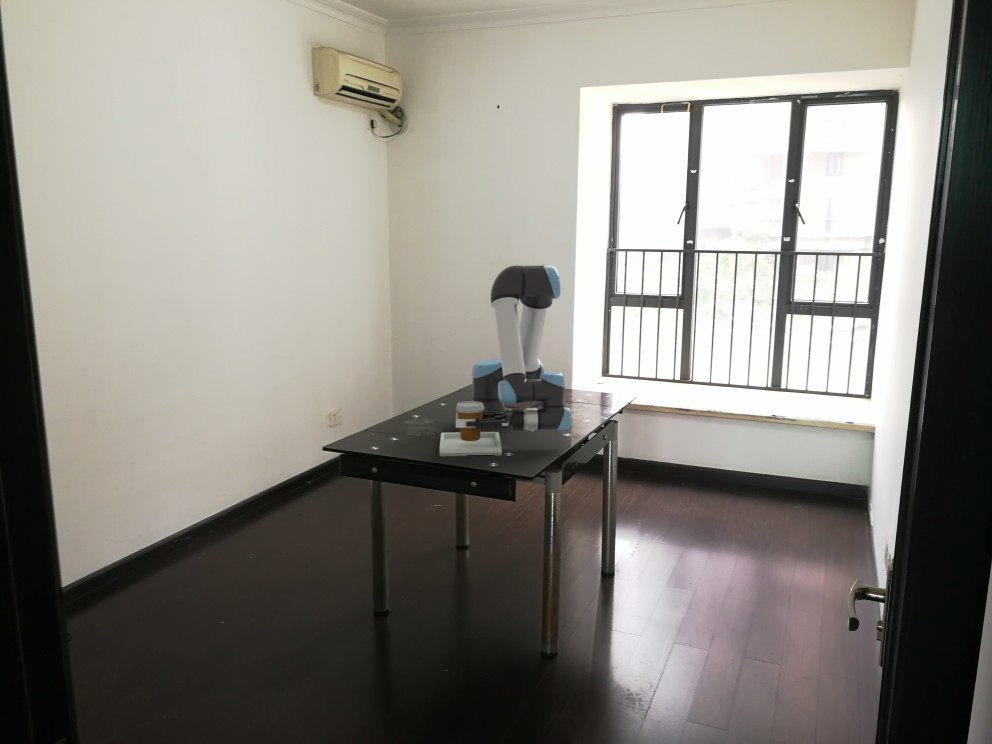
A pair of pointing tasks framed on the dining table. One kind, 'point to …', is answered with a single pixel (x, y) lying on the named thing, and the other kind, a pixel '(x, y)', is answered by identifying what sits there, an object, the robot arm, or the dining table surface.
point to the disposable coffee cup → (470, 412)
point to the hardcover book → (522, 405)
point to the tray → (470, 445)
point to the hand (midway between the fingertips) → (455, 420)
